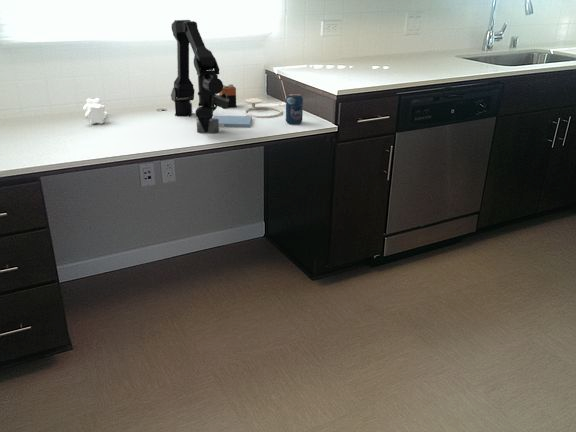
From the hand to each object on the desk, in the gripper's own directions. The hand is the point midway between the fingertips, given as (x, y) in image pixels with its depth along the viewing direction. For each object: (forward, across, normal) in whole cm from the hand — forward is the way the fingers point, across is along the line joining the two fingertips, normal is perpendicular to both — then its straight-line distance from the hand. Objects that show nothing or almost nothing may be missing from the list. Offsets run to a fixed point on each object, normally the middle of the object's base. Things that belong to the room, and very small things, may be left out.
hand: (207, 128), depth 214 cm
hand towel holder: (+2, +32, -20) cm, 38 cm away
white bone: (+2, +15, +48) cm, 51 cm away
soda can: (+1, +15, -34) cm, 37 cm away
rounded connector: (+1, 0, 0) cm, 1 cm away
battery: (+2, +41, -4) cm, 41 cm away
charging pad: (+1, +14, -8) cm, 16 cm away
